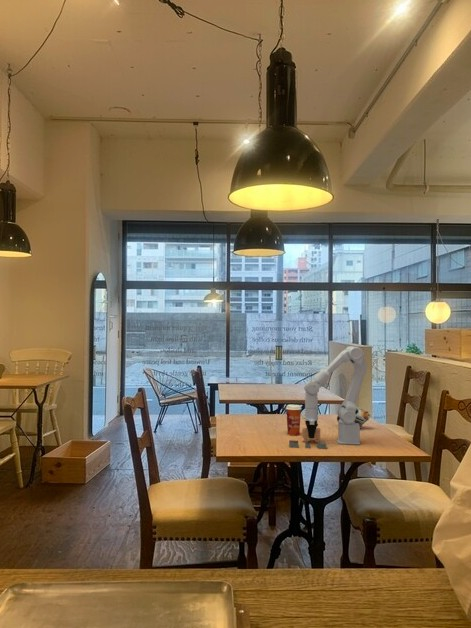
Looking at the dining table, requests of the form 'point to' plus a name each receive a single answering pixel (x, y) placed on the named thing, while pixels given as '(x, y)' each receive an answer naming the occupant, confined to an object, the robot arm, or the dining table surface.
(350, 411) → the robot arm
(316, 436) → the tan rectangular block
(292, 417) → the paper cup
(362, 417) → the lucky cat figurine
